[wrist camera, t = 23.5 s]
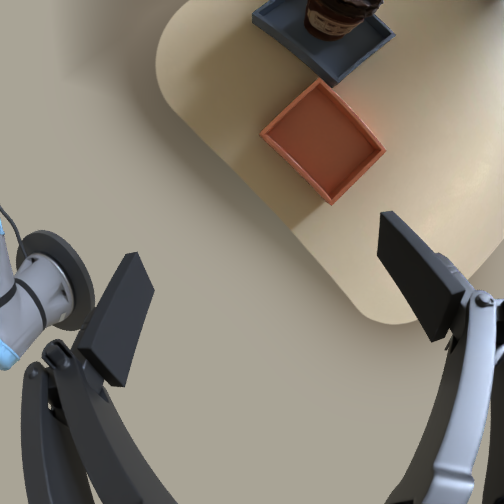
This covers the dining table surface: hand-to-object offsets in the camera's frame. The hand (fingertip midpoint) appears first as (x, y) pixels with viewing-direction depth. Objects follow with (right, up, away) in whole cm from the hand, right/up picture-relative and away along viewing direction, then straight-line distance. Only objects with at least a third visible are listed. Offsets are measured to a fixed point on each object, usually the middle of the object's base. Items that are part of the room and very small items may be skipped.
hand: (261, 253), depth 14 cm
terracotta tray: (+9, +15, +20) cm, 27 cm away
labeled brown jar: (+10, +32, +13) cm, 36 cm away
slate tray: (+10, +32, +14) cm, 37 cm away
